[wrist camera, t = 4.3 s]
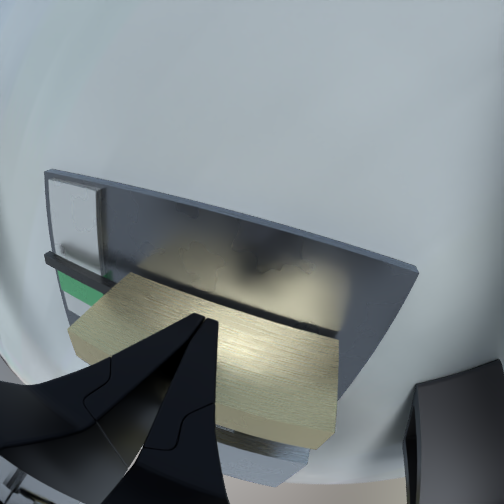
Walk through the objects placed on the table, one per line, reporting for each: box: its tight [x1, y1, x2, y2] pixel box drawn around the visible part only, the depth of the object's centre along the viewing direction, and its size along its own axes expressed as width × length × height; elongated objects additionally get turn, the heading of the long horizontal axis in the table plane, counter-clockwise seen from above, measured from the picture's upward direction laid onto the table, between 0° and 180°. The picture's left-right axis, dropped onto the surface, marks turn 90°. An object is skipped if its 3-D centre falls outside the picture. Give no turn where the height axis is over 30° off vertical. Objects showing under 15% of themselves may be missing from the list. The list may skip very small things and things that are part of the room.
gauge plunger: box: [44, 251, 339, 450], centre depth 12 cm, size 16×8×5 cm, turn 78°
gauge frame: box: [44, 169, 419, 487], centre depth 13 cm, size 19×16×5 cm
